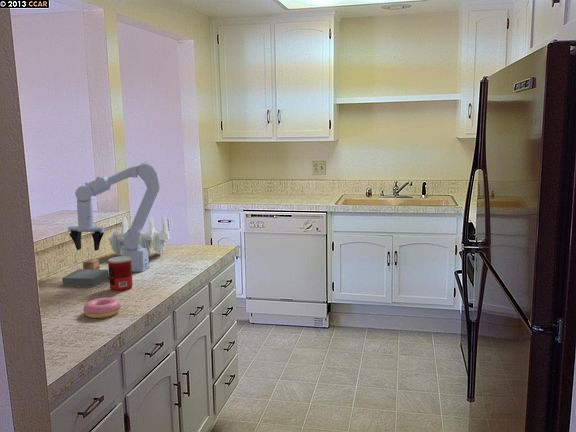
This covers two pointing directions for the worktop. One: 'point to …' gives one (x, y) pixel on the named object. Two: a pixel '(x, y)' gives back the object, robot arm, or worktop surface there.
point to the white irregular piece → (142, 238)
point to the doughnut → (101, 307)
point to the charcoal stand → (85, 277)
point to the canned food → (120, 273)
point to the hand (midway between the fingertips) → (87, 249)
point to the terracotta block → (91, 264)
